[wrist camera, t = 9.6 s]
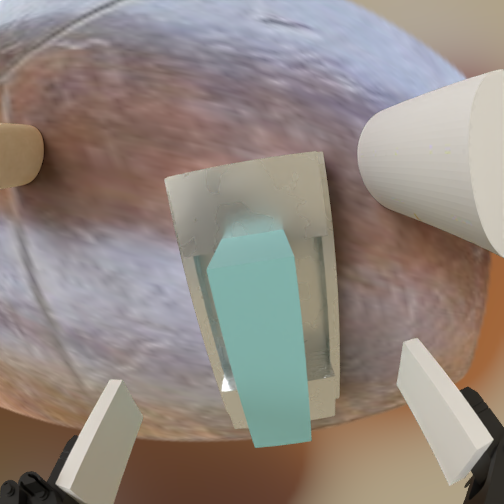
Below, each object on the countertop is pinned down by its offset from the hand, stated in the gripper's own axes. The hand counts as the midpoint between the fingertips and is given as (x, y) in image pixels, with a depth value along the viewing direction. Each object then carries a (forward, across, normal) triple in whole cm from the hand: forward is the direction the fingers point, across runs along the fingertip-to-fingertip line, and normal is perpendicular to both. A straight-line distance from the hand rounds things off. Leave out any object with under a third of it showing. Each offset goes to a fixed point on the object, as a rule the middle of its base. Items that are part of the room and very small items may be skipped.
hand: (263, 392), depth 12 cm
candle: (+11, -18, +16) cm, 27 cm away
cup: (+10, +12, +9) cm, 18 cm away
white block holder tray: (+10, 0, 0) cm, 10 cm away
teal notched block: (+9, 0, 0) cm, 9 cm away
